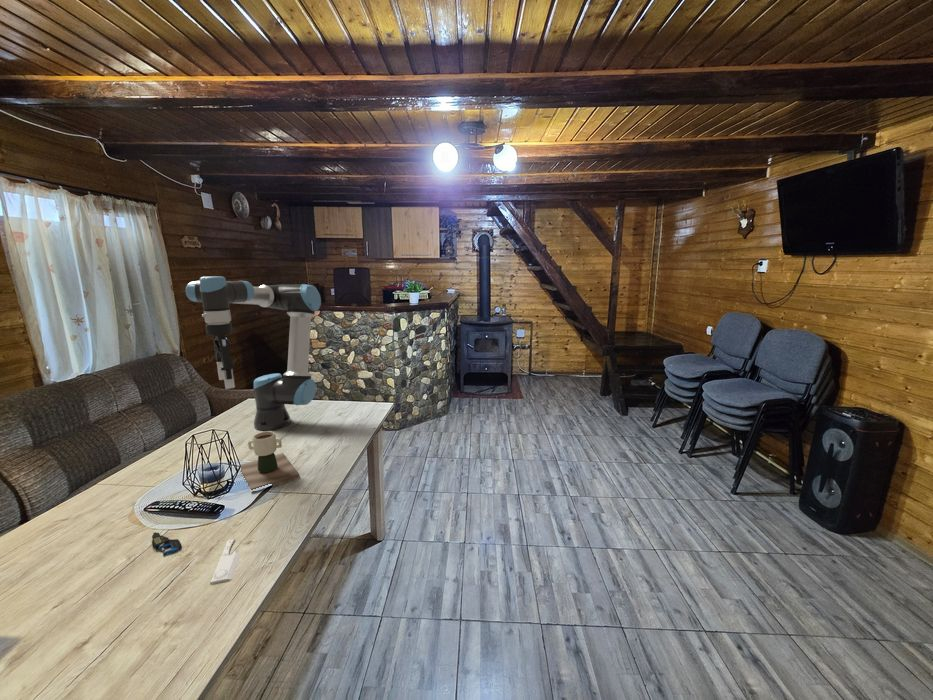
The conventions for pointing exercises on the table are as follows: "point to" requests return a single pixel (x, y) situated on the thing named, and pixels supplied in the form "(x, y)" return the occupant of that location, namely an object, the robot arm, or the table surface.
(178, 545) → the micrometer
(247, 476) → the walnut board
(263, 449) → the character mug
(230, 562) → the butcher knife
